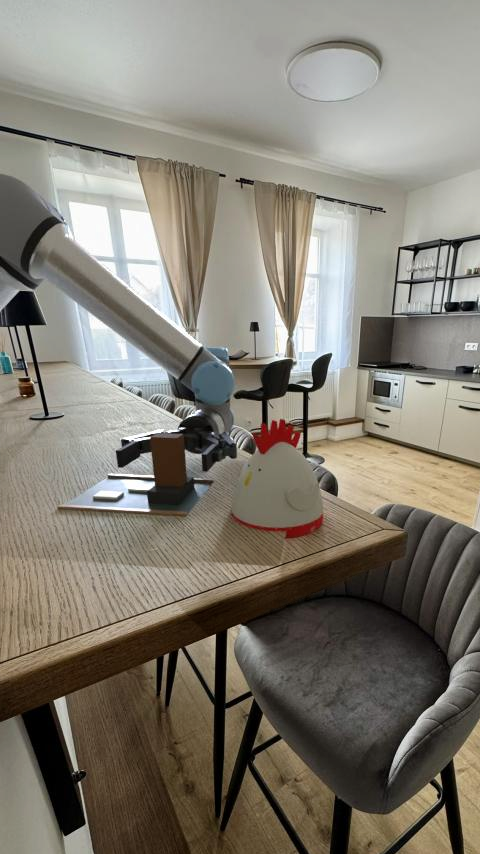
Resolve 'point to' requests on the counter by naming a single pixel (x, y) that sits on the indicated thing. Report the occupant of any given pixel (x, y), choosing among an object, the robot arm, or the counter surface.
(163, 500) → the eraser
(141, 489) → the chalk smudge
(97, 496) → the chalk smudge
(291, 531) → the kitchen timer
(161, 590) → the counter surface
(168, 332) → the robot arm
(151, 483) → the chalkboard
